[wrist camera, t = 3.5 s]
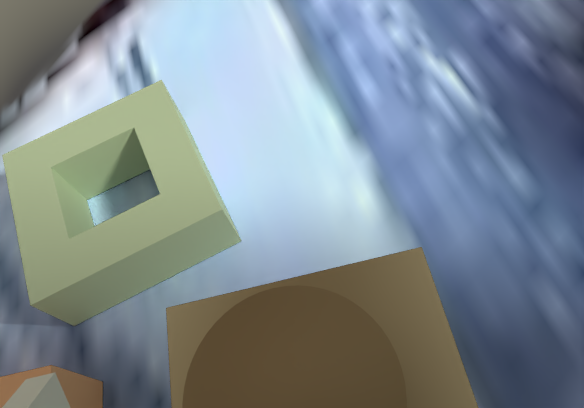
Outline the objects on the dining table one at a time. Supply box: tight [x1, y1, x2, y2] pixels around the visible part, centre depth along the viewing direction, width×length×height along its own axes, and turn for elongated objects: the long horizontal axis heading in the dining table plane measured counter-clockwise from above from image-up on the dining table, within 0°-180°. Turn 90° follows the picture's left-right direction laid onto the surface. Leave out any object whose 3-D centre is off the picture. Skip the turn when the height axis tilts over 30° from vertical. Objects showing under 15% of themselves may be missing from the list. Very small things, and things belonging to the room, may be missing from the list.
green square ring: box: [2, 80, 241, 326], centre depth 22 cm, size 8×8×3 cm
